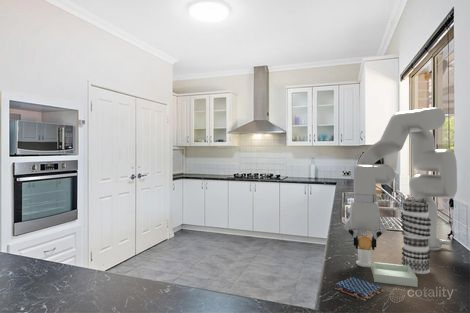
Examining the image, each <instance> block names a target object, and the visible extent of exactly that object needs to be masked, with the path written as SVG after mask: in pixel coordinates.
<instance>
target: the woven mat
mask: <svg viewBox="0 0 470 313" xmlns="http://www.w3.org/2000/svg"><path fill="white" fill-rule="evenodd" d="M334 289H335V290H337V291H340V292H342V293H345V294H347V295H351V296H352V297H354V298H358V299H359V300H362V301H367V299H372V298H373V297H374V296H376V295H379V294H381V293H383V292H384V289H383V286H381V285H380V284H376V282H373V283H371V281H370V280H369V281H366V280H365V279H361V278H359V277H358V278H356V276H353V277H349V278H346V279H344V280H341V281H338V282H337V283H335V286H334Z"/></svg>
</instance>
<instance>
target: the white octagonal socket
mask: <svg viewBox="0 0 470 313" xmlns="http://www.w3.org/2000/svg"><path fill="white" fill-rule="evenodd" d="M355 262H356V266H358V267H363V268H371V262H372V247H371V248H370V249H368V250H365V249H361V248H360V247H359V246H358V248H357V260H356V261H355Z"/></svg>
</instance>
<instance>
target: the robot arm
mask: <svg viewBox="0 0 470 313" xmlns="http://www.w3.org/2000/svg"><path fill="white" fill-rule="evenodd" d="M445 123H446V113H445V111H444V110H443V109H442V108H440V107H430V108H422V109H421V108H420V109H413V110H407V111H399V112H396V113H394V114H392V116H391V117H390V119H389V121H388V122H387V125H386V126H385V130H384V131H383V134H382V135H381V137H380V139H379V140H378V141H377V142H375V143H373V144H372V145H371V146H370V147H369V148H368V149H366V150H365V151H364V152H363V153H362V154H361V155H360V158H359V159H358V161H357V163H356V165H355V166H354V168H353V200H352V201H351V202H350V203H351V204H350V209H349V219H348V220H347V222H346V223H345V224H344V225H343V229H344V230H345V231H347V232H348V233H349V234H350V235H351V236H352V238H353V246H354V247H355V249H356V250H358V247H359V246H358V239H359V237H358V233H359V231H367V232H372V234H371V235H372V237H371V240H372V247H371V251H375V248H377V240H378V238H379V237H380V236H382V235H383V234H384V233H386V232H387V231H388V229H387V227H385V225H384V224H383V223H382V222H381V215H380V206H379V203H378V202H377V201H379V200H380V201H381V196H380V195H377V185H388V184H391V183H392V182H393V181H394V179H395V178H396V173H395V169H394V168H393V166H391V165H389V164H384V163H377V162H378V161H379V160H381V159H383V158H386V157H389V156H392V155H394V154H396V153H398V152H400V151H401V150H402V149H403V147H404V145H405V142H406V140H407V139H408V136H409V137H410V138H411V139H410V140H411V149H412V152H411V153H412V165H413V166H412V167H413V168H414V169H415V170H416V171H419V172H431V173H432V172H435V173H436V172H437V173H439V174H431V173H430V174H427V173H423V174H422V173H418V174H415V175H413V176H412V177H411V178H410V179H409V183H408V184H409V190H410V197H419V198H424V199H426V201H427V202H428V203H429V204H428V212H429V216H428V218H429V219H431V221H428V223H430V224H431V225H430V226H428V229H430V232H428V233H429V234H430V238H428V245H429V251H430V252H433V251H434V252H435V251H441V250H442V248H443V245H446V246H451V245H452V242H451V240H450V239H449V240H448V239H447V240H446V239H442V238H440V237H438V205H437V203H436V202H435V200H434V198H439V199H452V198H454V197H455V196H456V194H457V192H458V169H457V168H458V167H457V165H458V164H457V158H456V154H455V153H454V152H453V151H452V150H451V149H447V148H438V149H437V148H436V144H435V143H436V142H435V137H434V134H433V133H432V130H437V129H438V130H439V129H440V128H441V127H443V126H444V124H445ZM349 226H350V227H349Z"/></svg>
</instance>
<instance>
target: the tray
mask: <svg viewBox="0 0 470 313" xmlns="http://www.w3.org/2000/svg"><path fill="white" fill-rule="evenodd" d="M370 269H371V273H372V274H371V275H372V276H373V281H374V282H373V283H381V284H389V285H398V286H406V287H414V288H418V287H419V286H418V282H419V281H418V277H417V276H416V273H414V272H413V270H412V268H411V267H410V266H408V265H402V264H396V263H386V262H377V261H371V267H370Z"/></svg>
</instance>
